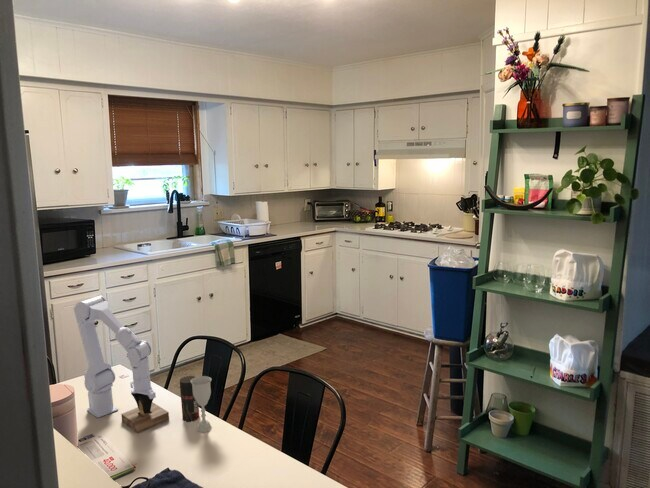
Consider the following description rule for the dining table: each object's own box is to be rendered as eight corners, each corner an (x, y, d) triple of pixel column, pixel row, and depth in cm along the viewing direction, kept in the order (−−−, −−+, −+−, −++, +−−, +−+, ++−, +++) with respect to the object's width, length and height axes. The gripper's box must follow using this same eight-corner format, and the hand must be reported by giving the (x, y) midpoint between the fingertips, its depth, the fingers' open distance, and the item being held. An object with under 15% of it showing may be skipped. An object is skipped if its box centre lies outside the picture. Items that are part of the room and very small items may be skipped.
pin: (139, 418, 190) (137, 400, 189) (147, 415, 192) (145, 397, 191) (142, 421, 188) (140, 403, 187) (150, 418, 190) (148, 400, 189)
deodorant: (195, 422, 188) (192, 383, 186) (179, 421, 190) (176, 382, 187) (202, 414, 194) (199, 376, 191) (187, 413, 195) (184, 375, 193)
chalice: (218, 424, 186) (215, 377, 183) (208, 434, 180) (204, 385, 177) (200, 421, 189) (197, 375, 185) (190, 431, 182) (186, 383, 179)
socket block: (122, 421, 190) (121, 413, 190) (152, 409, 199) (151, 401, 198) (138, 432, 182) (137, 425, 182) (169, 419, 191) (168, 411, 190)
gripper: (121, 373, 190) (124, 408, 192) (140, 385, 180) (144, 422, 182) (139, 367, 195) (142, 401, 197) (159, 378, 185) (162, 414, 187)
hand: (144, 411), depth 190 cm, fingers closed on pin, 3 cm apart
